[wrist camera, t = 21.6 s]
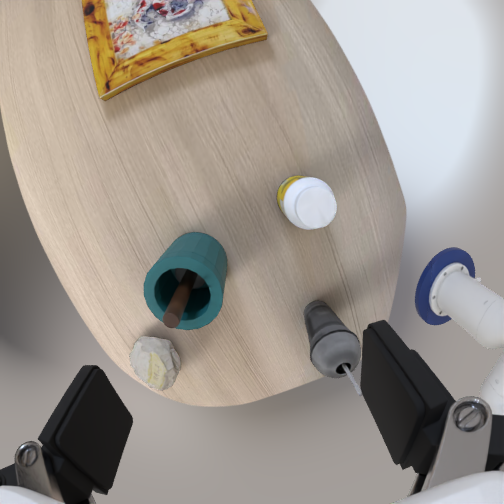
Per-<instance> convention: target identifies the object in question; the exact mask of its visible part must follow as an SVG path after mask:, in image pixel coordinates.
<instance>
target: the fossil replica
mask: <svg viewBox="0 0 504 504" xmlns="http://www.w3.org/2000/svg"><path fill="white" fill-rule="evenodd" d="M129 357H130V363H131V366H132V368H133V369H134V371H135V374H136V375H137V376H138V377H139V378H140V379H141V380H143V381H144V382H145V383H147V384H148V386H149V387H151V388H154V389H158V390H165V389H168V388H169V387H171V386H173V384H174V382H175V380H176V377H177V375H178V373H179V371H180V368H181V360H180V357H179V356H178V353H177V352H176V351H175V349H174V347H173V345H172V343H171V342H170V341H169V340H167V339H160V338H157V337H147V336H141V337H140V338H139V339H138V340H137V341H136V342H135V344H134V347H133V350H132V352H131V353H130V356H129Z"/></svg>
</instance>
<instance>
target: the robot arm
mask: <svg viewBox="0 0 504 504" xmlns="http://www.w3.org/2000/svg"><path fill="white" fill-rule="evenodd" d="M480 282H481V279H480V277H478V278H475V279H474V278H472V277H471V276H469V272H468V269H467V268H466V267H465V266H464V265H463V264H461V263H451V264H449V265H447V266H446V267H445V268H443V269H442V270H441V272H440V273H439V274H438V275H437V277H436V278H435V280H434V282H433V284H432V287H431V290H430V295H429V304H430V308H431V310H432V311H433V312H434V313H435V314H436V315H438V316H446V315H448V316H449V317H451V318H452V319H453V320H454V321H455V322H456V323H458V324H459V325H460V326H461V327H462V328H463V329H464V330H465V331H467V332H468V333H469V334H470V335H471V336H472V337H473V338H474V339H475V340H477V341H478V342H479V343H480V344H481V345H482V346H484V347H485V348H488V349H497V348H502V347H504V298H502V297H501V296H499V295H498V294H496V293H494V292H493V291H491V290H490V289H488V288H487V287H485V286H483V285H482V284H480ZM360 386H361V392H362V394H363V396H364V399H365V401H366V403H367V405H368V407H369V409H370V411H371V413H372V415H373V418H374V419H375V422H376V424H377V426H378V428H379V431H380V433H381V435H382V437H383V439H384V442H385V444H386V446H387V448H388V450H389V453H390V455H391V457H392V459H393V462H394V463H395V464H396V465H397V464H400V465H401V467H402V469H405V468H408V467H410V466H412V467H413V469H414V471H415V472H416V473H417V475H416V477H415V480H414V482H413V485H412V487H411V490H410V492H409V494H408V496H407V498H404V499H401V500H399V501H396V502H393V503H391V504H504V350H503V352H502V354H501V356H500V358H499V359H498V361H497V362H496V364H495V366H494V367H493V369H492V370H491V372H490V373H489V375H488V376H487V378H486V379H485V381H484V382H483V384H482V386H481V388H480V392H479V395H480V398H478V397H474V396H470V397H464V398H461V399H459V400H458V401H455V400H454V399H453V397H452V396H451V394H450V393H449V392H448V390H447V389H446V388H445V387H444V385H443V384H442V383H441V382H440V380H439V379H438V378H437V377H436V375H435V374H434V373H433V372H432V370H431V369H430V368H429V366H428V365H427V364H426V363H425V361H424V360H423V359H422V358H421V357H420V355H419V354H418V353H417V352H416V351H415V350H410V349H409V348H408V347H407V346H406V345H405V343H404V342H403V341H402V340H401V338H400V337H399V336H398V335H397V334H396V332H395V331H394V330H393V329H392V328H391V326H390V325H389V324H388V323H387V322H386V321H385V320H381V321H378V322H375V323H371V324H369V325H368V327H367V329H366V330H364V331H363V348H362V369H361V385H360ZM132 423H133V418H132V416H131V414H130V412H129V411H128V410H127V408H126V407H125V405H124V403H123V402H122V400H121V399H120V397H119V396H118V394H117V393H116V391H115V389H114V388H113V386H112V385H111V383H110V381H109V380H108V378H107V376H106V374H105V373H104V371H103V370H102V369H100V368H99V367H98V366H96V365H85V366H83V367H82V368H81V369H80V371H79V373H78V374H77V375H76V377H75V378H74V380H73V382H72V383H71V385H70V386H69V388H68V389H67V391H66V392H65V394H64V396H63V397H62V399H61V401H60V402H59V404H58V405H57V407H56V409H55V410H54V412H53V413H52V415H51V417H50V419H49V420H48V422H47V424H46V425H45V427H44V429H43V431H42V433H41V434H40V436H39V438H38V440H39V441H40V442H41V443H42V444H43V446H42V447H41V446H40V445H39V444H38V443H36V442H33V441H29V442H26V443H24V444H22V445H21V446H20V447H19V448H18V449H17V451H16V454H15V463H14V464H12V465H10V466H8V467H5V468H3V469H1V470H0V504H96V502H95V500H94V498H93V496H92V494H91V493H92V490H94V491H95V492H97V493H100V494H105V495H107V494H108V490H109V489H111V488H112V485H113V482H114V478H115V476H116V472H117V469H118V466H119V463H120V459H121V456H122V453H123V450H124V447H125V444H126V441H127V438H128V435H129V433H130V430H131V427H132Z"/></svg>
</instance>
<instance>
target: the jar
mask: <svg viewBox="0 0 504 504" xmlns="http://www.w3.org/2000/svg"><path fill="white" fill-rule="evenodd" d="M176 268H184V269H189V270H191V271H194V272H196V273H197V274H198V275H200V276H201V277H202V278H203V279H204V280H205V282H206V283H205V284H204V285H203V286H201V287H199V288H196V289H192V291H191V294H190V297H189V299H188V302H187V305H186V307H185V310H184V313H183V315H182V318H181V321H180V323H179V325H178V326H177V327H176V329H183V330H192V329H199V328H201V327H203V326H205V325H207V324H209V323H210V322H211V321H212V320H213V319H214V318H215V317H216V316H217V315H218V313H219V311H220V309H221V307H222V302H223V294H224V286H225V279H226V272H227V256H226V253H225V251H224V249H223V247H222V246H221V244H220V243H219V242H218V241H217V240H216V239H214V238H213V237H211V236H209V235H207V234H204V233H199V232H192V233H187V234H184V235H182V236H180V237H179V238H178V239H176V240H175V241H174V242H173V243H172V244H171V246H170V247H169V248H168V249H167V250H166V251H165V253H164V254H163V255H162V256H161V257H160V258H159V260H158V261H157V262H156V263H155V264H154V266H153V267H152V268H151V269H150V271H149V272H148V273H147V275H146V279H145V282H144V297H145V300H146V302H147V305H148V307H149V309H150V310H151V312H152V313H153V314H154V316H155V317H156V318H158V319H159V320H160V321H162V322H163V320H162V318H163V315H164V313H165V311H166V309H167V307H168V305H169V303H170V301H171V299H172V297H173V295H174V293H175V291H176V289H177V287H178V285H179V281H178V280H177V278H176V275H175V269H176Z"/></svg>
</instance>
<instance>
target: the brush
mask: <svg viewBox="0 0 504 504" xmlns="http://www.w3.org/2000/svg"><path fill="white" fill-rule="evenodd" d="M175 275H176V278H177V280H178V281H179V285H178V287H177V289H176V291H175V293H174V295H173V297H172V299H171V301H170V303H169V305H168V307H167V309H166V311H165V313H164V315H163V318H162V320H163V323H164V324H165V326H167V327H169V328H176V327H177V326H178V325H179V323H180V321H181V318H182V315H183V313H184V310H185V307H186V305H187V302H188V299H189V297H190V294H191V291H192V289H196V288H199V287H201V286H203V285H204V284H205V283H206V282H205V280H204V279H203V278H202V277H201V276H200V275H198V274H197V273H196V272H194V271H191V270H189V269H184V268H176V269H175Z"/></svg>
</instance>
